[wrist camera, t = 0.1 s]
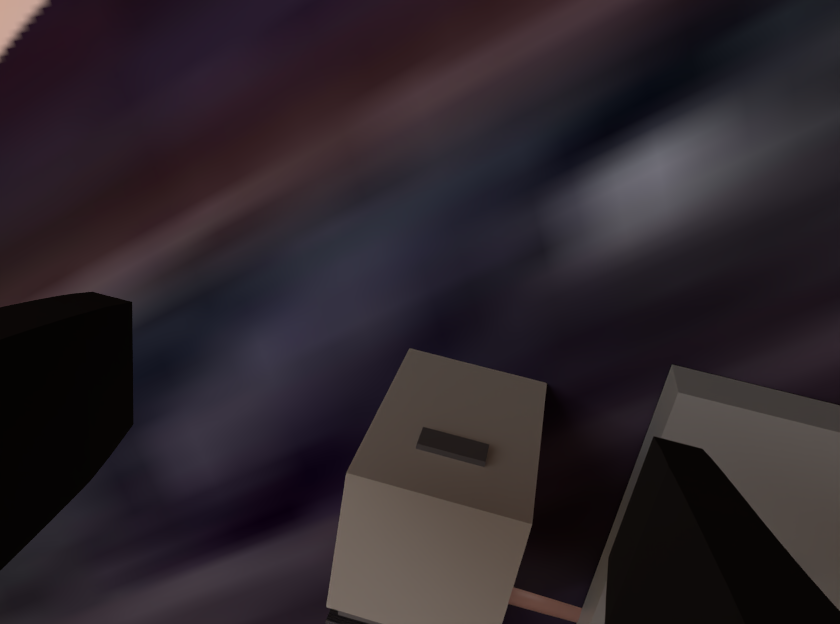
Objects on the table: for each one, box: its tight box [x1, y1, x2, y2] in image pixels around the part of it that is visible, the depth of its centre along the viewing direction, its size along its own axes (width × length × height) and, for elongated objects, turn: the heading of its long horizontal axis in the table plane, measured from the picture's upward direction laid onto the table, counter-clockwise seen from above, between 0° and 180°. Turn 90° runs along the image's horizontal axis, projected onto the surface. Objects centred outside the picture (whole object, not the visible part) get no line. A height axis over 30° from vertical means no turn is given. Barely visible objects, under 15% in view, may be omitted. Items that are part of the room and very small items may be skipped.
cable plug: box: [338, 587, 582, 624], centre depth 23 cm, size 10×2×2 cm, turn 80°
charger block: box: [326, 348, 547, 624], centre depth 18 cm, size 4×4×6 cm
